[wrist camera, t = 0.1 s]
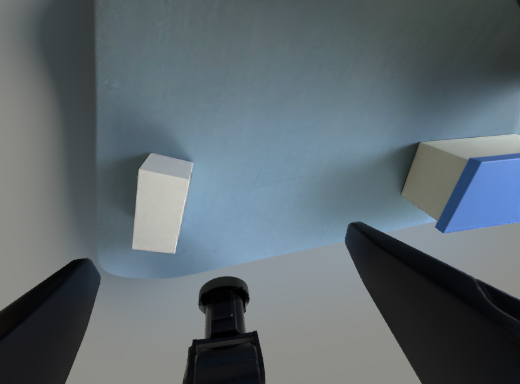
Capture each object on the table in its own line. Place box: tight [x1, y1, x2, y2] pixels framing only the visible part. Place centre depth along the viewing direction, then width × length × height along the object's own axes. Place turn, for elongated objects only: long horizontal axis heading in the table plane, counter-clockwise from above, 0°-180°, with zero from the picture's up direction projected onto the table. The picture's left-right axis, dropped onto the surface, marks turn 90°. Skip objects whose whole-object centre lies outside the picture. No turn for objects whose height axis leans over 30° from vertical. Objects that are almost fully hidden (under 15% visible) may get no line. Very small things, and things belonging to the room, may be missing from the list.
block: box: [132, 153, 193, 253], centre depth 20 cm, size 8×4×4 cm, turn 161°
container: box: [401, 134, 520, 233], centre depth 23 cm, size 7×13×6 cm, turn 91°
